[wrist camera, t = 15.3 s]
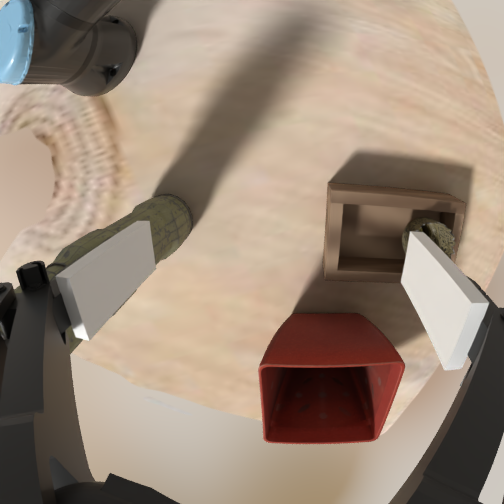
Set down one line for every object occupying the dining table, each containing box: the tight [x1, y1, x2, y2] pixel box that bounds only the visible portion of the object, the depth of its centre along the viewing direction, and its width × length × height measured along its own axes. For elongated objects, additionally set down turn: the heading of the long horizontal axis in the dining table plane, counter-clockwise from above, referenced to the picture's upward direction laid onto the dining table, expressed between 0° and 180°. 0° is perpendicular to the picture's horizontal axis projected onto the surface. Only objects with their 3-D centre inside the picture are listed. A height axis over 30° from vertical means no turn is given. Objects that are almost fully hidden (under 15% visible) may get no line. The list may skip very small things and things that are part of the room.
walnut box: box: [323, 183, 466, 283], centre depth 41 cm, size 13×20×6 cm, turn 91°
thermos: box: [0, 194, 193, 354], centre depth 33 cm, size 9×12×35 cm
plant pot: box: [258, 313, 405, 444], centre depth 45 cm, size 19×19×17 cm
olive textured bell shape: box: [402, 217, 456, 259], centre depth 38 cm, size 8×7×8 cm
